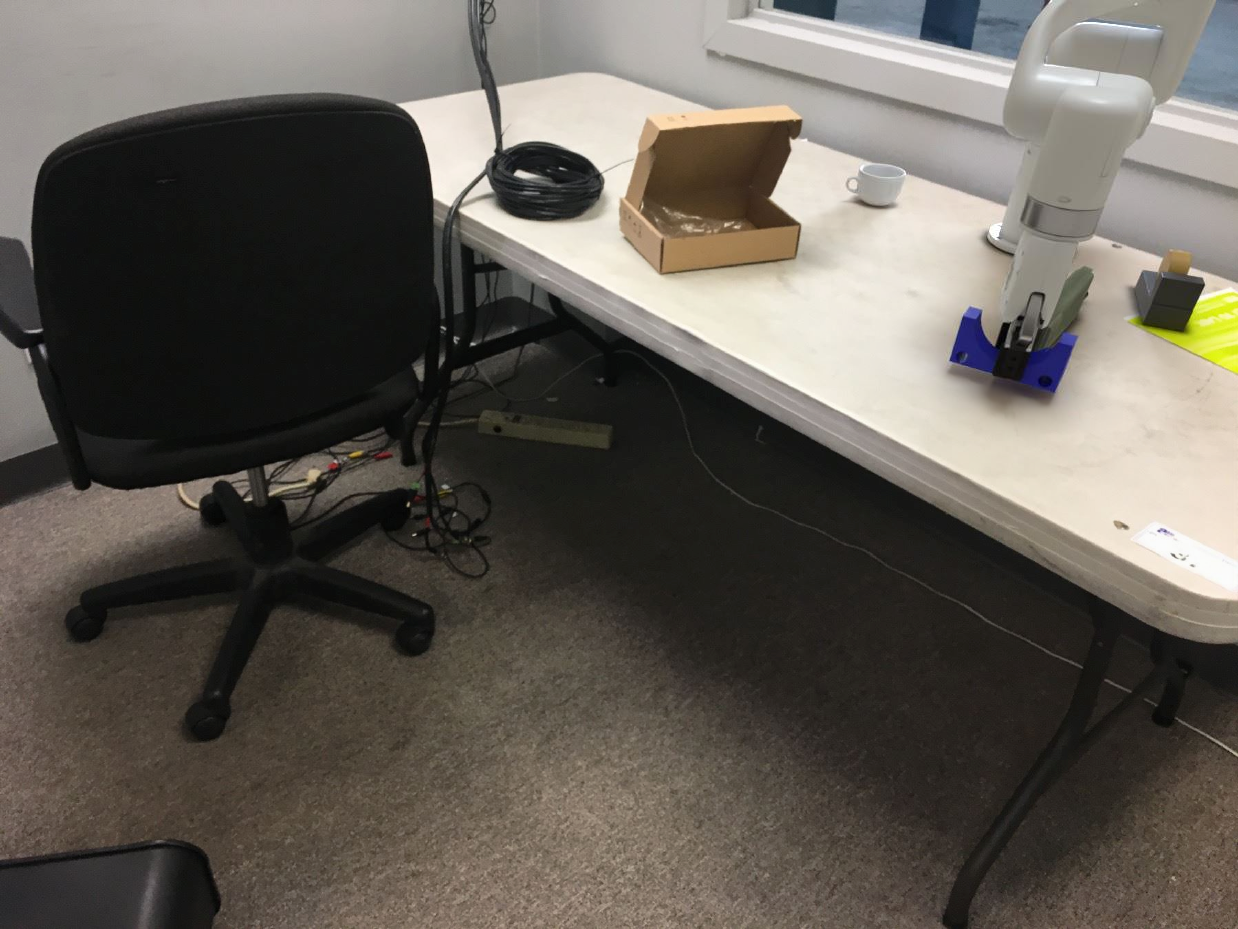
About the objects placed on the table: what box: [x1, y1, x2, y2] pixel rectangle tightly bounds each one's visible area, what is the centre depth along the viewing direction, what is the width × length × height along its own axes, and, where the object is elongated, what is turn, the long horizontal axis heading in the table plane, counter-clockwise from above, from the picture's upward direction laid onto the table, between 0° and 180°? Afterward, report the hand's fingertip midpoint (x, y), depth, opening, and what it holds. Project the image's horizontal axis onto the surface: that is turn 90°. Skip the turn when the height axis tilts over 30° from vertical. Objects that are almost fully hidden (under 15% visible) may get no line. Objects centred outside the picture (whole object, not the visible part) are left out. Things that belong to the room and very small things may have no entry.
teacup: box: [845, 162, 907, 207], centre depth 149 cm, size 10×8×5 cm
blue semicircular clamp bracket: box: [948, 305, 1079, 394], centre depth 100 cm, size 12×4×6 cm, turn 57°
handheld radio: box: [1032, 265, 1095, 352], centre depth 111 cm, size 7×3×25 cm
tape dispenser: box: [1134, 249, 1206, 332], centre depth 118 cm, size 12×5×8 cm, turn 159°
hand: (1006, 364), depth 101 cm, fingers closed on blue semicircular clamp bracket, 4 cm apart
